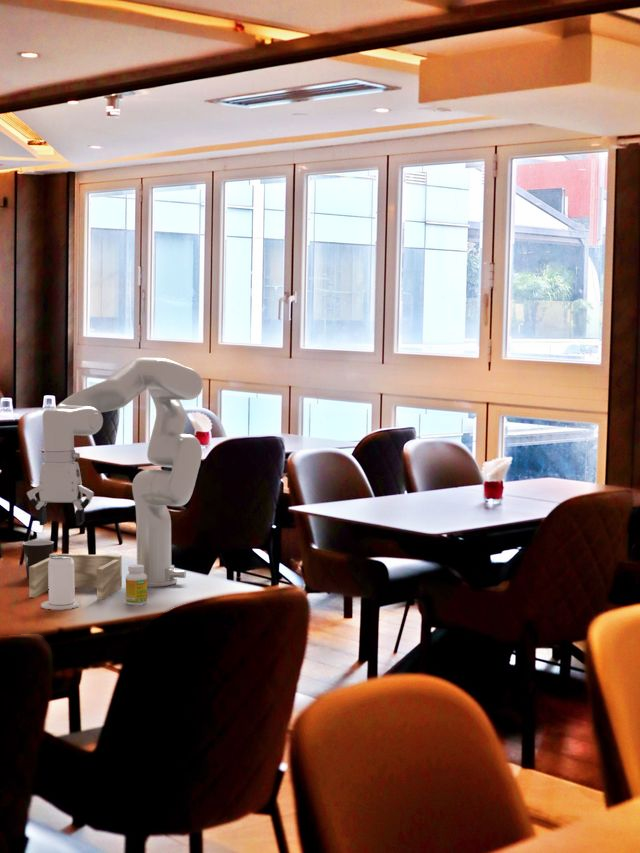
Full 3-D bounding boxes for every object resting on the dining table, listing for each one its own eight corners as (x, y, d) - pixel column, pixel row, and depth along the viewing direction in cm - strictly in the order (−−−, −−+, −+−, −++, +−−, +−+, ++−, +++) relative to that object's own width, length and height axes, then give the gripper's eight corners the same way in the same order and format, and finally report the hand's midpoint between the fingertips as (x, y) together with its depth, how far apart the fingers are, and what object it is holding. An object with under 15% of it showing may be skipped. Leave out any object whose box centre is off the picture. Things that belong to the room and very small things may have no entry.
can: (71, 606, 305) (71, 558, 304) (46, 605, 305) (45, 558, 304) (77, 600, 311) (76, 554, 310) (52, 600, 311) (51, 554, 310)
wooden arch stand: (121, 587, 331) (121, 555, 331) (102, 599, 315) (102, 566, 315) (51, 585, 334) (51, 553, 334) (29, 597, 318) (28, 563, 318)
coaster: (86, 602, 312) (86, 599, 312) (73, 610, 302) (72, 608, 302) (49, 600, 314) (49, 598, 314) (34, 609, 304) (34, 606, 304)
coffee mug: (51, 580, 341) (51, 545, 340) (20, 580, 340) (20, 545, 340) (57, 572, 353) (57, 538, 352) (27, 573, 352) (27, 538, 351)
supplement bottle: (137, 606, 307) (137, 568, 307) (121, 603, 310) (121, 566, 310) (151, 602, 312) (151, 565, 311) (135, 600, 315) (135, 563, 314)
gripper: (97, 456, 308) (99, 522, 309) (32, 455, 310) (34, 521, 312) (87, 459, 300) (89, 527, 302) (20, 459, 303) (23, 526, 305)
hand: (61, 524), depth 307 cm, fingers open, 9 cm apart
